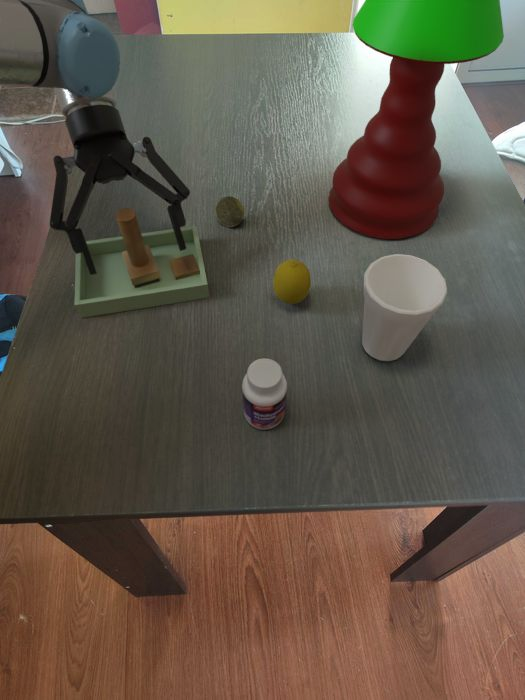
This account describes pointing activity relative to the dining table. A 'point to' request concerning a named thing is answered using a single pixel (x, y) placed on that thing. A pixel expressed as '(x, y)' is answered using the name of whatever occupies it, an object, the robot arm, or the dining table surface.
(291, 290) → the lemon
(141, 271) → the cylinder on block base
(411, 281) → the cup
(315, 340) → the dining table surface
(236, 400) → the dining table surface
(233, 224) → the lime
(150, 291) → the tray
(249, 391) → the pill bottle
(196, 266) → the flat brown square tile
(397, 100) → the table lamp
